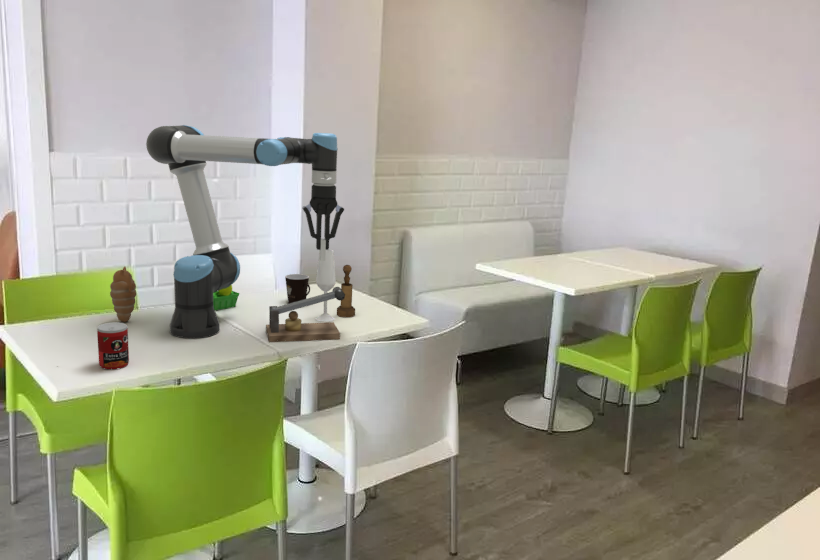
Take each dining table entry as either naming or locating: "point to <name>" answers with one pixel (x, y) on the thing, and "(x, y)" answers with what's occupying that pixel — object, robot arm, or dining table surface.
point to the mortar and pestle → (346, 296)
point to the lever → (311, 301)
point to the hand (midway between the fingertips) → (322, 259)
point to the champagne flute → (326, 280)
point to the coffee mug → (297, 287)
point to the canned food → (113, 345)
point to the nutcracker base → (305, 333)
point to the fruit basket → (225, 298)
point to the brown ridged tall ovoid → (123, 294)
